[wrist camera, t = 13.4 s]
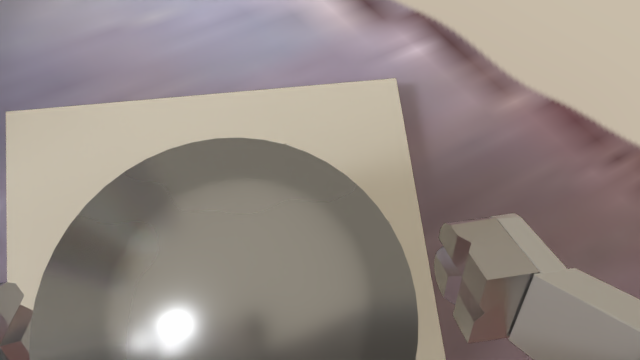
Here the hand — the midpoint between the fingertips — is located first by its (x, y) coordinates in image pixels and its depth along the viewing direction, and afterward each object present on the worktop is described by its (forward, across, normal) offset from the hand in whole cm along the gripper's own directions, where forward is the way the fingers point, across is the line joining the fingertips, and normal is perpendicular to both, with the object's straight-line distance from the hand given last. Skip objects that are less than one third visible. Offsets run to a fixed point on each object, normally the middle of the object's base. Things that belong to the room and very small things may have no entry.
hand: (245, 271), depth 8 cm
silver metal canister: (+4, 0, +5) cm, 6 cm away
